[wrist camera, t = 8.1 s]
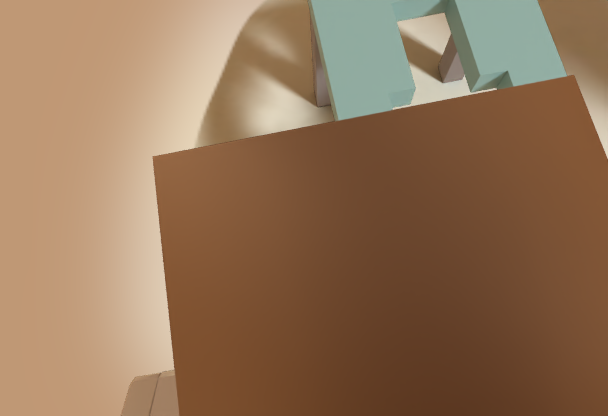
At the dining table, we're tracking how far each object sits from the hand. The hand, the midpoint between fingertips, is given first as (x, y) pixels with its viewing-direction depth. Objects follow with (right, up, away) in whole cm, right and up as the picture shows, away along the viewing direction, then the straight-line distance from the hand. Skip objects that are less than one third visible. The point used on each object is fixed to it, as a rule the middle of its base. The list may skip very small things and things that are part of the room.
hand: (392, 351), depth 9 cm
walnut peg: (+1, -3, +12) cm, 12 cm away
